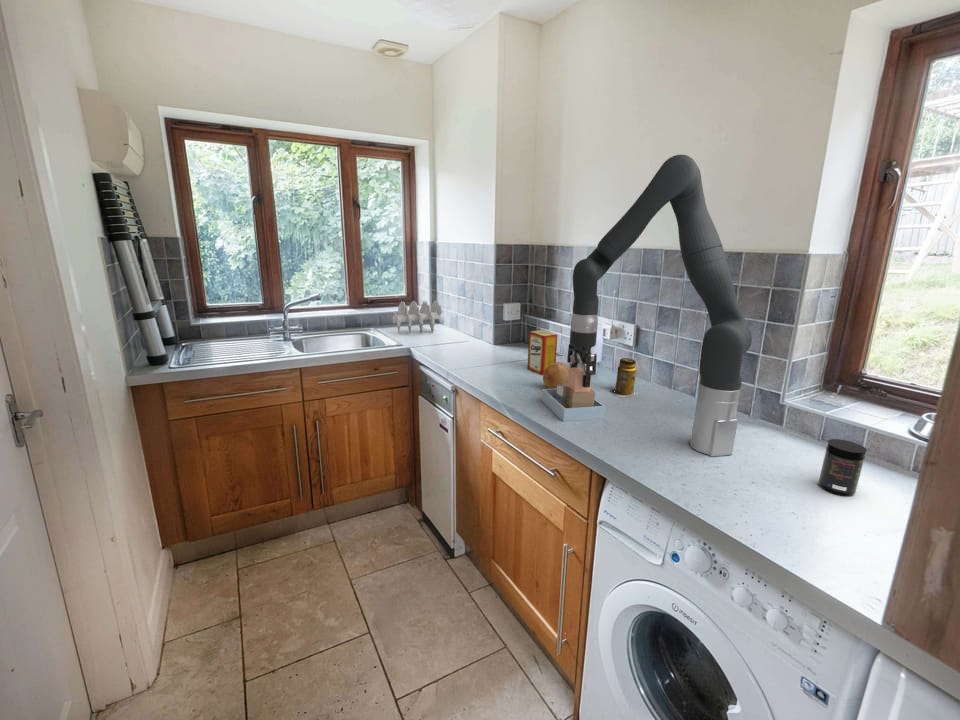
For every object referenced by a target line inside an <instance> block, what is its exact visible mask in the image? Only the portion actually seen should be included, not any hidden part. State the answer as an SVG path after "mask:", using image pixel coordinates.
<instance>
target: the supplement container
mask: <svg viewBox="0 0 960 720" xmlns="http://www.w3.org/2000/svg"><path fill="white" fill-rule="evenodd" d="M867 451H868V450H867V448H866V447H864V446H863V445H861V444H859V443H856V442H853V441H849V440H845V439H841V438H840V439H839V438H831V439H828V440H827V443H826V447H825V452H824V456H823V461H822V465H821V469H820V474H819V478H818V481H817V482H818V484H819V486H820V487H821V488H822V489H823V490H824V491H826V492H829V493H832V494H834V495H837V496H842V497H850V496H852V495H854V494H856V492H857V489H858V485H859V481H860V477H861V473H862V470H863V465H864V461H865V459H866V456H867V455H866V454H867Z"/></svg>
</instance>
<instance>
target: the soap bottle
mask: <svg viewBox="0 0 960 720" xmlns="http://www.w3.org/2000/svg"><path fill="white" fill-rule="evenodd" d="M603 345H604V339H603V335H602V333H601V332H600V331H598V330H597V338H596V345H595V346H594V347H592V348H591V354H596V355H597V360H596V374H597V372H598V363H601V361H602V358H603V357H602V356H603ZM578 367H580V365H578ZM591 368H593V366H592V367H591Z"/></svg>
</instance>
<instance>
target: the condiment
mask: <svg viewBox="0 0 960 720" xmlns="http://www.w3.org/2000/svg"><path fill="white" fill-rule="evenodd" d="M636 364H637V362H636V360H635V359H633V358H629V357H628V358H627V357H625V358H623V357H622V358H620V359H619V363H618V367H617V373H616V375H617V376H616V381H615V382H616V383H615V388H614V389H611V390H608V393H609V394H612V395H614V396H617V397H618V398H623V399H624V398H626V397H633V396H635V395H639V392H635V391H634V390H635V381H636V372H637V368H636ZM614 391H615V392H614ZM633 392H634V394H633ZM635 393H636V394H635Z"/></svg>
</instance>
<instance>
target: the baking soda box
mask: <svg viewBox="0 0 960 720" xmlns="http://www.w3.org/2000/svg"><path fill="white" fill-rule="evenodd" d="M557 348H558V334H557V333H554V332H549V330H544V329H541V330H533V331H532V330H530V331H529V332H528V348H527V349H528V350H527V351H528V352H527V370H528V371H531V372H533V373H535V374H539V375H541V376H543V374H544V371H545V369H546V368H547V367H548V366H549V365H551V364H553V363H556V362H557Z"/></svg>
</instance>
